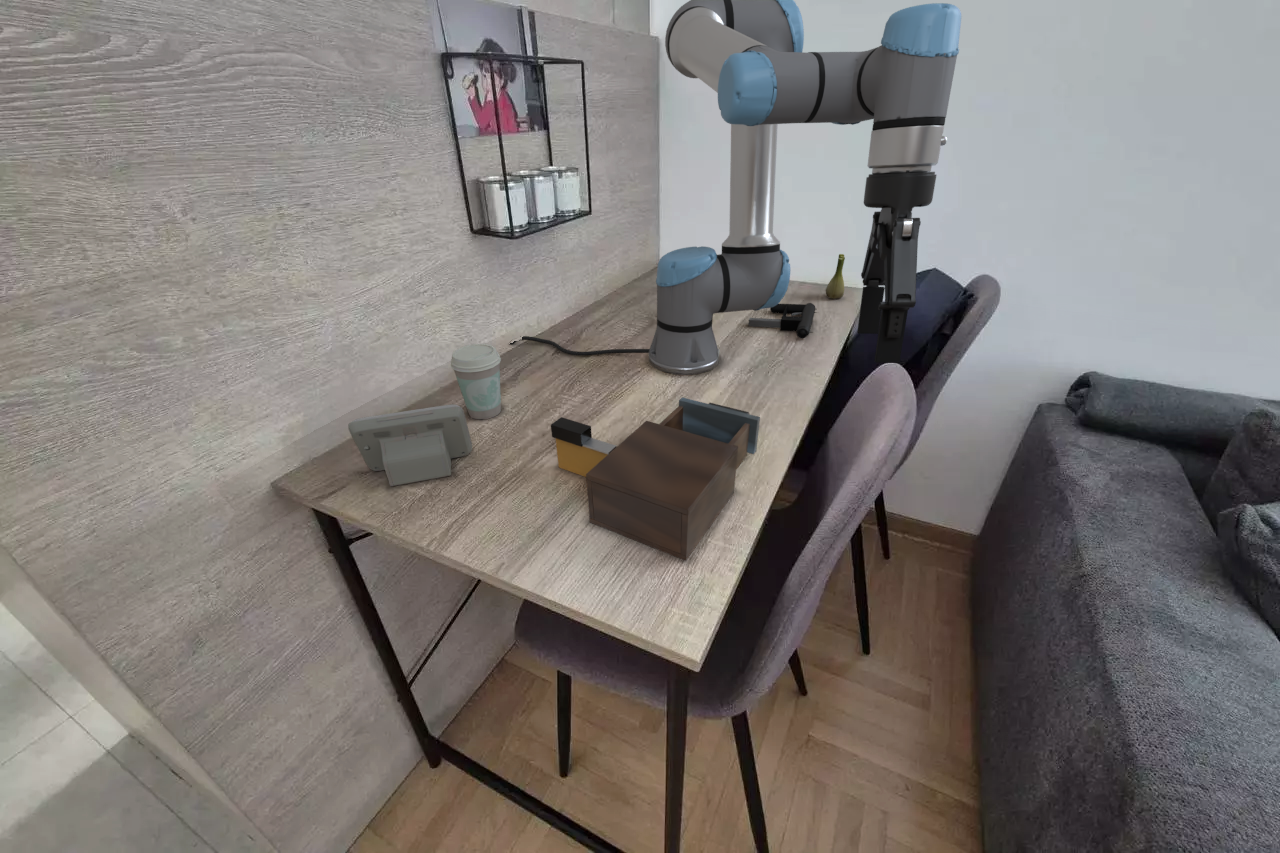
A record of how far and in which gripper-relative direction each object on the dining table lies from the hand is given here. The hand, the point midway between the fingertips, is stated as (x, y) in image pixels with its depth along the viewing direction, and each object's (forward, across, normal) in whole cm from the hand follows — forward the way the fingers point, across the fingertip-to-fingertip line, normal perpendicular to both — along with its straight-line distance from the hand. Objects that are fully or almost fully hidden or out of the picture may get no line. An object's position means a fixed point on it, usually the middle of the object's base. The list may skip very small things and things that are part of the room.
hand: (876, 346), depth 72 cm
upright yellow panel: (+19, -6, +40) cm, 45 cm away
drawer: (+18, +1, +23) cm, 29 cm away
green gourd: (+11, +88, -6) cm, 89 cm away
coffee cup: (+17, +10, +64) cm, 67 cm away
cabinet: (+20, -11, +27) cm, 36 cm away
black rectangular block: (+13, -6, +40) cm, 43 cm away
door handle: (+13, +65, +9) cm, 67 cm away
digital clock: (+18, -8, +66) cm, 69 cm away
